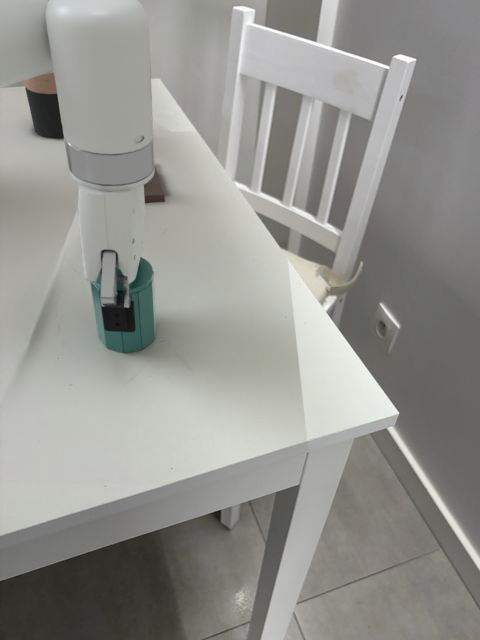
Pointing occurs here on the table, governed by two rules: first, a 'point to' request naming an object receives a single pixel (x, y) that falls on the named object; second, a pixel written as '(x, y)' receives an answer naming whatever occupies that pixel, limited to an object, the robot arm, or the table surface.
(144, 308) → the cup
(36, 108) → the travel mug
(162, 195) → the cup stand
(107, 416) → the table surface
